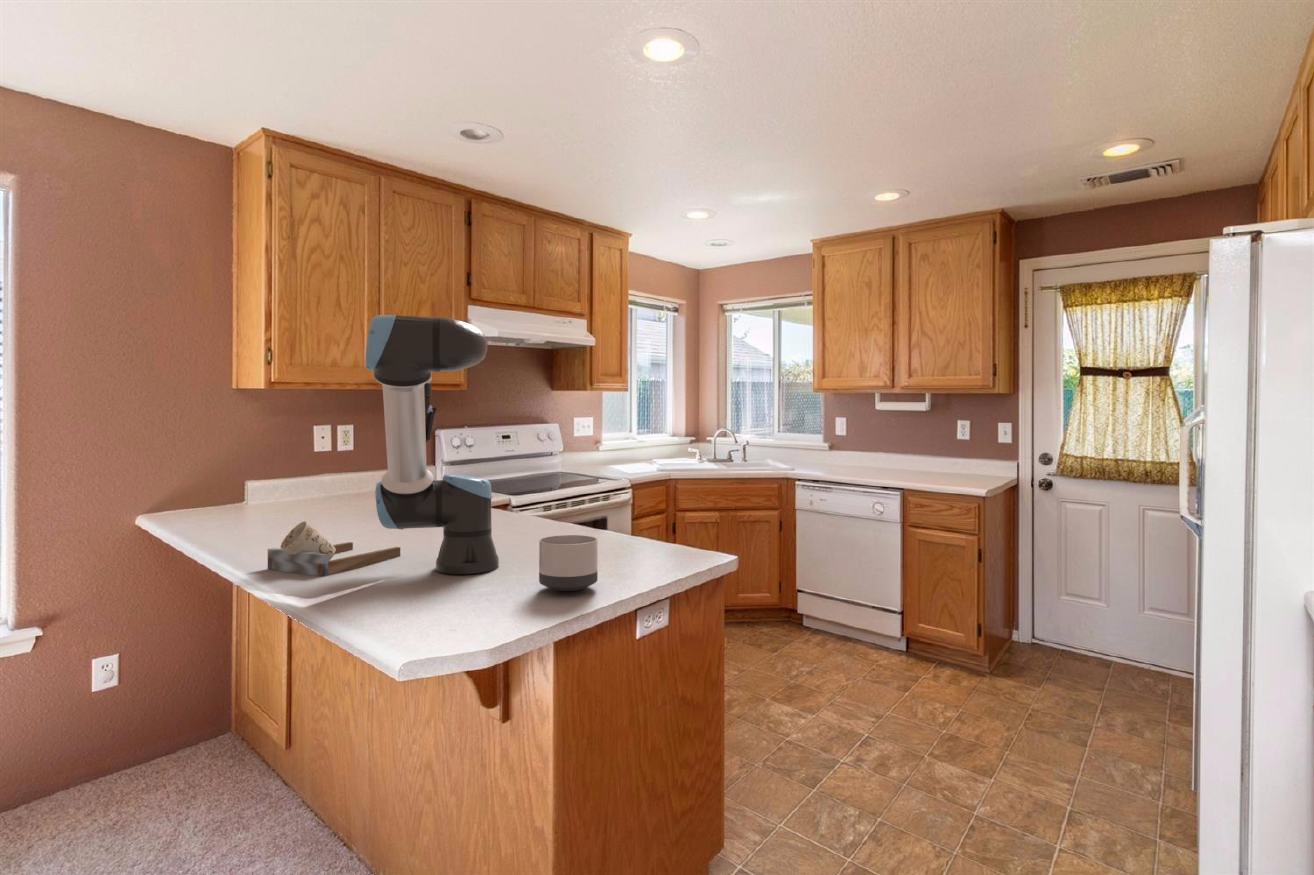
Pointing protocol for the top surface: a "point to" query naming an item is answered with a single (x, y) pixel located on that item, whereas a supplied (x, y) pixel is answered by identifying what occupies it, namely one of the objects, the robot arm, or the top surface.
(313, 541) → the mug
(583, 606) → the top surface
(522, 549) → the top surface
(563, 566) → the planter
